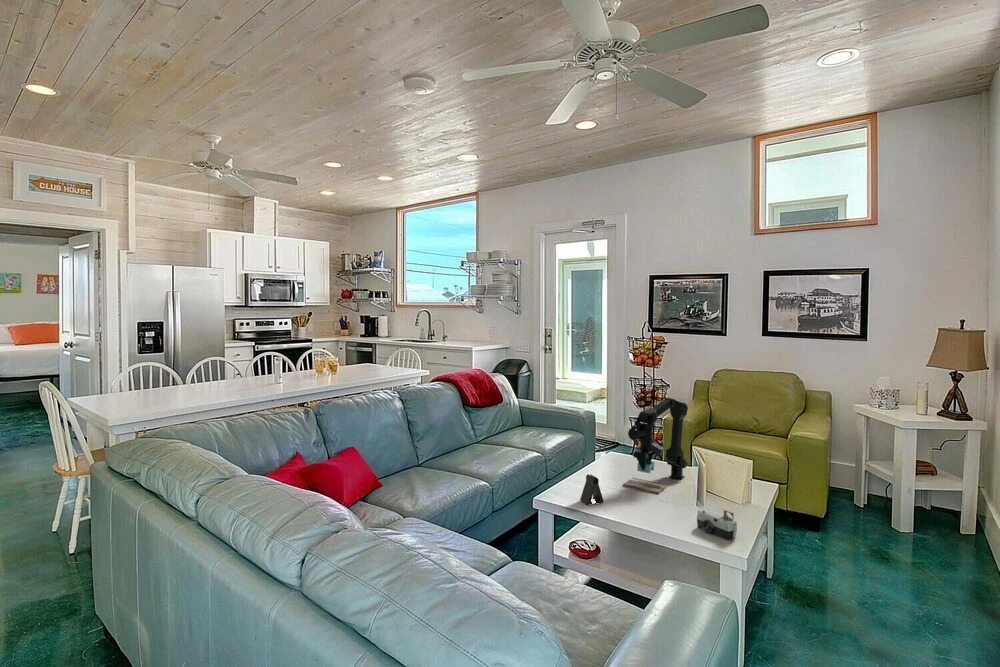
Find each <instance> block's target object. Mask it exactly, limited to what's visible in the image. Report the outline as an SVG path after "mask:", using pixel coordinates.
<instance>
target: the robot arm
mask: <svg viewBox="0 0 1000 667" xmlns="http://www.w3.org/2000/svg"><path fill="white" fill-rule="evenodd" d="M688 409H689V408H688V405H687V403H685V402H680V401H678V400H676V399H674V398H672V397H664V398H663V400H661V401H660V402H659V403H657V404H655V406H652V407H651V408H649V409H644V410H641V411H640V412H639V414H638V416H637V418H636V420H635V422H634V424H633V425H631V428H629V429H628V432H627V433H628V434H627V435H628V438H629V439H630V440H631V441H636V440H637V441H638V442H639V443H640V444H639V445H640V446H639V447H638V449H637V450H635V451H634V452H633V455H632V456H633V458H635V459H636V460H637V463H638V462H639V464H640V466H641V469H642V470H645V465H646V461H651V462H652V460H653V457H654V455H657V456H661V455H663V453H664V451H665V460H666V463H667V465H670V475H669V476H668V478H670V479H674V478H675V479H674V480H678V479H679V481H681V480H683V479H684V478H685V475H684V473H683V470H684V469H686V468H687V466H688V462H687V461H686V459H685V458H684V457H685V456H684V451H683V450H682V436H683V423H684V419H685V418H686V416H687V413H688ZM668 410H669V414H670V416H671V418H672V423H671V424H672V426H671V437H670V438H671V439H670V446H669V448H667V449H666V450H665V448H666V447H665V444H664V442H660V443H656V442H655V439H654V438H653V436H654V434H653V432H654V431H653V429H655V428H656V425H655V424H654V423H656V422H657V420H658V417H659V416H660V415H662V414H664V413H665V412H667V411H668Z"/></svg>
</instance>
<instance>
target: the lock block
mask: <svg viewBox="0 0 1000 667" xmlns="http://www.w3.org/2000/svg"><path fill="white" fill-rule="evenodd" d="M651 471H655V461H652V460H651V461H646V465H645V470H642V469H641V466H640V464H639V462H638V461H637V472H641V473H646V474H651Z"/></svg>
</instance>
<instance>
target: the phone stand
mask: <svg viewBox="0 0 1000 667" xmlns="http://www.w3.org/2000/svg"><path fill="white" fill-rule="evenodd" d="M599 483H600V482H599V478H598V477H597V476H594V475H593V474H591V473H590V474H586V476H585V483H584V486H583V489H582V492H581V495H580V498H579V501H580V500H581V501H582V502H581V501H580V502H581V503H583V504H584V503H585V504H584V505H586V506H587V505H588V506H590V505H589V504H592V502H591V499H592V498H593V499H595V501H596V503H600V504H604V503H605V501H604V498H603V493H602V491H601V488H600V485H599ZM603 502H604V503H603ZM596 503H595V504H594V505H597V504H596Z"/></svg>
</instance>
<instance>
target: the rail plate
mask: <svg viewBox="0 0 1000 667" xmlns="http://www.w3.org/2000/svg"><path fill="white" fill-rule="evenodd" d="M624 486H626V487H625V488H628V487H630V488H629V489H633V488H635V489H634V490H637V489H639V490H638V491H641V490H644V491H643V492H646V491H648V492H647V493H650V492H653V493H652V494H655V493H657V494H656V495H660V494H661V493H662V492H664V491H665V490H666V489H667V488H668V487H669V484H665V483H661V482H656V481H651V480H646V479H642V478H638V477H631V478H629V479H628V480H627V481H626V482H624V483H623V484H622V487H624ZM667 486H668V487H667ZM666 487H667V488H666ZM665 488H666V489H665ZM664 489H665V490H664ZM660 492H661V493H660ZM659 493H660V494H659Z"/></svg>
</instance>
